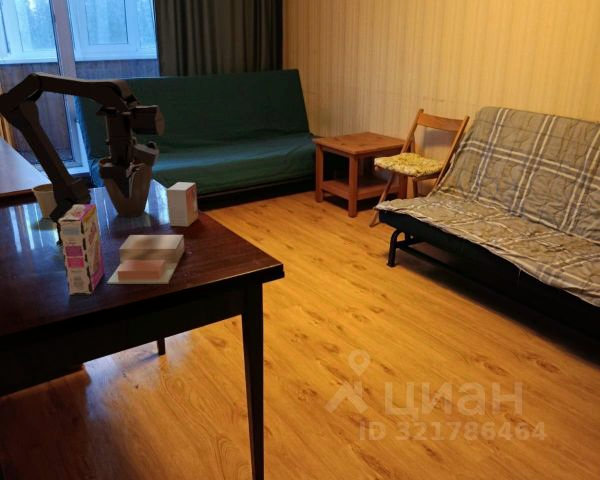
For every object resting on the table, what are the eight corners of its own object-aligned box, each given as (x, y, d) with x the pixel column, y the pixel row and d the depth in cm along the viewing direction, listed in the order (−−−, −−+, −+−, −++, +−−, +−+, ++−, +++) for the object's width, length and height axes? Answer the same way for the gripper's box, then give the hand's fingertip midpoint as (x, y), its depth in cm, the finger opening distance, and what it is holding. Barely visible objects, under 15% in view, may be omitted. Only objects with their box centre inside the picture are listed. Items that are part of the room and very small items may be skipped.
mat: (107, 283, 121) (107, 282, 121) (121, 265, 130) (120, 263, 130) (167, 283, 121) (167, 281, 121) (177, 264, 130) (177, 263, 130)
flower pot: (78, 214, 165) (74, 185, 162) (50, 223, 158) (44, 193, 154) (58, 208, 170) (53, 181, 166) (30, 217, 162) (24, 188, 159)
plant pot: (149, 202, 175) (144, 152, 169) (164, 215, 163) (158, 161, 157) (100, 210, 168) (92, 157, 162) (111, 224, 156) (104, 168, 150)
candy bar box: (93, 294, 116) (82, 220, 110) (69, 296, 116) (56, 220, 110) (106, 272, 126) (96, 202, 120) (83, 273, 126) (72, 203, 120)
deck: (121, 265, 130) (118, 249, 129) (131, 250, 138) (129, 235, 137) (177, 264, 130) (175, 248, 129) (184, 250, 138) (183, 234, 137)
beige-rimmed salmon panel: (125, 260, 127) (126, 268, 127) (117, 271, 121) (118, 279, 122) (164, 259, 127) (165, 267, 127) (158, 270, 121) (159, 279, 122)
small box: (188, 227, 154) (185, 190, 150) (169, 226, 155) (165, 189, 151) (198, 218, 161) (196, 182, 157) (180, 216, 162) (177, 181, 158)
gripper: (144, 142, 124) (151, 209, 130) (162, 127, 142) (168, 187, 147) (93, 142, 124) (103, 209, 130) (118, 127, 142) (126, 187, 147)
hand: (127, 197), depth 139 cm, fingers closed
